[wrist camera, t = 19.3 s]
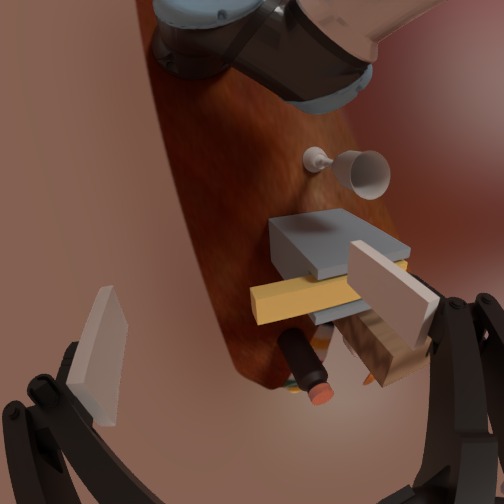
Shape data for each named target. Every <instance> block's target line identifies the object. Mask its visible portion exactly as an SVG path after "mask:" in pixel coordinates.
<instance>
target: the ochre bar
mask: <svg viewBox="0 0 504 504" xmlns="http://www.w3.org/2000/svg"><path fill="white" fill-rule="evenodd" d="M393 263H395V264H396V265H397V266H399V267H400V268H402V269H403V270H404V271H406V268H407V262H406V261H404V260H403V259H401V260H397V261H394V262H393ZM250 294H251V304H252V312H253V315H254V317H255V320H256V322H257V324H258V325H261V324H266V323H270V322H274V321H279V320H283V319H287V318H291V317H295V316H299V315H303V314H307V313H311V312H315V311H318V310H322V309H326V308H329V307H333V306H337V305H340V304H344V303H347V302H351V301H354V300H357V299H361V297H360V296H359V295H358V294H357V293H356V292H355V291H354V290H353V289H352V288H351V287H350V286H349V285H348V284H347V273H346V274H342V275H338V276H334V277H330V278H325V279H321V280H317V279H316V278H315V277H314V275H313V274H312V275H308V276H303V277H299V278H294V279H289V280H285V281H280V282H275V283H270V284H266V285H261V286H256V287H251V288H250Z"/></svg>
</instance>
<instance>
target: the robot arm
mask: <svg viewBox="0 0 504 504" xmlns="http://www.w3.org/2000/svg"><path fill="white" fill-rule="evenodd" d="M445 1H447V0H153V6H154V7H153V8H154V12H155V15H156V19H157V23H158V25H157V26H156V28H155V30H154V33H153V37H152V50H153V54H154V57H155V59H156V61H157V63H158V64H159V65H160V66H161V68H162V69H164V70H165V71H166V72H168V73H169V74H171V75H173V76H175V77H178V78H181V79H187V80H201V79H206V78H210V77H213V76H215V75H217V74H219V73H221V72H223V71H224V70H225V69H227V68H228V67H229V66H231V67H233V68H235V69H236V70H238V71H240V72H241V73H243V74H245V75H246V76H248V77H250V78H251V79H253V80H255V81H256V82H258V83H259V84H261V85H263V86H264V87H266V88H267V89H269V90H270V91H272V92H273V93H275V94H276V95H278V96H279V98H280V99H281V100H283V101H284V102H287V103H289V104H292V105H293V106H295V107H296V108H298V109H300V110H301V111H303V112H305V113H308V114H313V115H319V114H325V113H328V112H331V111H334V110H336V109H338V108H340V107H342V106H343V105H345V104H347V103H348V102H350V101H351V100H352V99H354V98H355V97H356V96H357V95H358V94H357V92H358V91H360V90H362V89H364V88H365V87H366V85H367V84H368V83H369V81H370V79H371V77H372V66H371V63H372V62H374V61H375V60H376V59H377V48H378V42H379V41H381V40H382V39H384V38H385V37H387V36H388V35H390V34H391V33H393V32H394V31H396V30H397V29H399V28H400V27H402V26H404V25H405V24H407V23H408V22H410V21H412V20H413V19H415V18H416V17H418V16H420V15H422V14H423V13H425V12H427V11H429V10H430V9H432V8H434V7H436V6H437V5H439V4H441V3H443V2H445ZM257 29H258V30H257ZM252 35H253V36H252ZM248 40H249V41H248ZM245 44H246V45H245ZM242 48H243V49H242ZM347 284H348V285H349V286H350V287H351V288H352V289H353V290H354V291H355V292H356V293H357V294H358V295H359V296H360V297H361V298H362V299H363V300H364V301H365V302H366V303H367V304H368V305H369V306H370V307H371V308H372V309H373V310H374V311H375V312H376V313H377V314H378V315H379V316H380V317H381V318H382V319H383V320H384V321H385V322H386V323H387V324H388V325H389V326H390V327H391V328H392V329H393V330H394V331H395V332H396V334H397V335H398V336H399V337H400V338H401V339H402V340H403V341H404V342H405V343H406V344H407V345H408V346H409V347H410V348H411V349H412V350H413V351H414V350H416V349H417V348H419V347H421V346H423V345H424V344H425V341H426V338H427V336H429V337H430V338H431V339H432V340H431V343H430V345H429V348H428V350H427V352H426V356H425V357H427V356H428V354H429V353H430V394H429V412H428V423H427V432H426V440H425V448H424V454H423V461H422V465H421V468H420V471H419V472H418V474H417V476H416V478H415V480H414V484H413V487H412V488H411V487H410V485H407V486H405V487H404V488H402V489H400V490H398V491H397V492H395V493H393V494H391V495H390V496H388V497H386V498H384V499H382V500H381V501H379V502H378V503H377V504H504V498H503V497H495V493H496V483H497V468H498V457H499V460H500V464H501V467H502V470H503V473H504V310H503V309H502V307H501V306H500V304H499V303H498V302H497V300H496V299H495V298H494V297H493V296H491V295H490V294H487V293H480V294H478V295H477V297H476V300H475V303H468V304H467V303H466V302H465V301H464V300H462V299H460V298H456V297H450V298H445V297H444V296H443V295H442V294H440V293H439V292H437V291H436V290H435V289H434V288H432V287H431V286H429V285H428V284H427V283H426V282H424V281H423V280H422V279H420V278H419V277H418V276H416V275H413V274H411V273H409V272H408V273H407V272H406V271H404V270H403V269H402V268H400V267H399V266H397V265H396V264H395V263H393V262H392V261H390V260H389V259H388V258H386V257H385V256H383V255H382V254H381V253H379V252H378V251H376V250H375V249H373V248H372V247H370V246H369V245H368V244H366V243H365V242H363V241H362V240H357V241H352V242H350V248H349V262H348V273H347ZM128 328H129V326H128V324H127V321H126V319H125V316H124V313H123V311H122V309H121V306H120V303H119V301H118V298H117V295H116V292H115V289H114V286H113V285H110V286H105V287H100V290H99V292H98V294H97V296H96V299H95V301H94V303H93V306H92V308H91V311H90V314H89V316H88V319H87V321H86V324H85V327H84V329H83V332H82V335H81V338H80V341H78V342H72V343H71V344H70V345H69V347H68V348H67V349H66V352H65V354H64V357H63V360H62V363H61V367H60V368H59V371H58V374H57V377H56V380H54V378H52V376H51V375H49V374H40V375H38V376H36V377H35V378H34V379H32V380H31V382H30V383H29V385H28V388H27V395H28V396H29V397H30V399H31V400H32V401H33V402H34V403H35V405H34V406H31V407H27V408H26V407H25V406H24V405H23V404H22V403H21V402H20V401H17V400H16V401H12V402H10V403H9V404H7V405H6V407H5V408H4V410H3V413H2V422H3V434H4V442H5V450H6V457H7V463H8V469H9V474H10V479H11V483H12V488H13V492H14V496H15V499H16V503H17V504H81V502H80V499H79V497H78V495H77V492H76V490H75V487H74V485H73V483H72V480H71V477H70V475H69V472H68V469H67V466H66V463H65V460H64V457H63V454H62V452H63V453H64V455H65V456H66V458H67V460H68V461H69V463H70V464H71V466H72V467H73V469H74V470H75V472H76V473H77V475H78V476H79V478H80V479H81V480H82V482H83V483H84V485H85V486H86V487H87V489H88V490H89V491H90V493H91V494H92V495H93V496H94V498H95V499H96V500H97V501H98V503H99V504H165V503H163V502H162V501H161V500H160V499H159V498H158V497H157V496H156V495H155V494H153V493H152V492H151V491H150V490H149V489H148V488H147V487H146V486H145V485H144V484H143V483H142V482H141V481H140V480H139V479H138V478H137V477H136V476H135V475H134V474H133V473H132V472H131V471H130V470H129V469H128V468H127V467H126V466H125V465H124V464H123V462H122V461H121V460H120V459H119V458H118V457H117V456H116V455H115V453H114V452H113V451H112V450H111V449H110V448H109V446H108V445H107V444H106V443H105V442H104V440H103V439H102V438H101V437H100V435H99V434H98V433H97V432H96V430H95V429H94V428H93V427H92V423H93V419H94V420H95V421H96V423H97V424H98V425H99V426H116V418H117V407H118V397H119V388H120V380H121V372H122V364H123V358H124V352H125V346H126V339H127V334H128ZM486 331H488V334H489V336H488V338H487V339H485V337H484V335H485V333H486ZM487 413H488V416H489V420H490V423H491V427H492V430H493V434H490V433H489V432H488V416H487ZM61 450H62V451H61ZM501 492H502V493H503V494H504V482H503V483H502V485H501Z"/></svg>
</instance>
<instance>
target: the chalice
mask: <svg viewBox="0 0 504 504" xmlns="http://www.w3.org/2000/svg"><path fill="white" fill-rule="evenodd" d="M303 164H304V167H305V168H306V169H307V170H308V171H310V172H313V173H315V172H319V171H321V170H322V169H324V168H325V167H326V168H328V167H329V168H331V169H332V170H333V173H334V175H335V177H336V178H337V180H338V181H339V182H340V183H341V184H342V185H343V186H344V187H346V188H349V189H351V190H354V191H355V192H356V194H358V195H359V196H360V197H362V198H365V199H375V198H378V197H380V196H381V195H382V194H383V193H384V192H385V191H386V189H387V187H388V185H389V181H390V169H389V165H388V163H387V161H386V159H385V158H384V157H383V156H382V155H380V153H377V152H375V151H365V152H358V151H347V152H344V153H342V154H340V155H339V156H337V157H336V158H335V159H334V160H330V159H329V158H327V156H326V154H325V153H324V151H323V150H322V149H320V148H318V147H311V148H309V149H308V150H306V151H305V153H304V155H303Z"/></svg>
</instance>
